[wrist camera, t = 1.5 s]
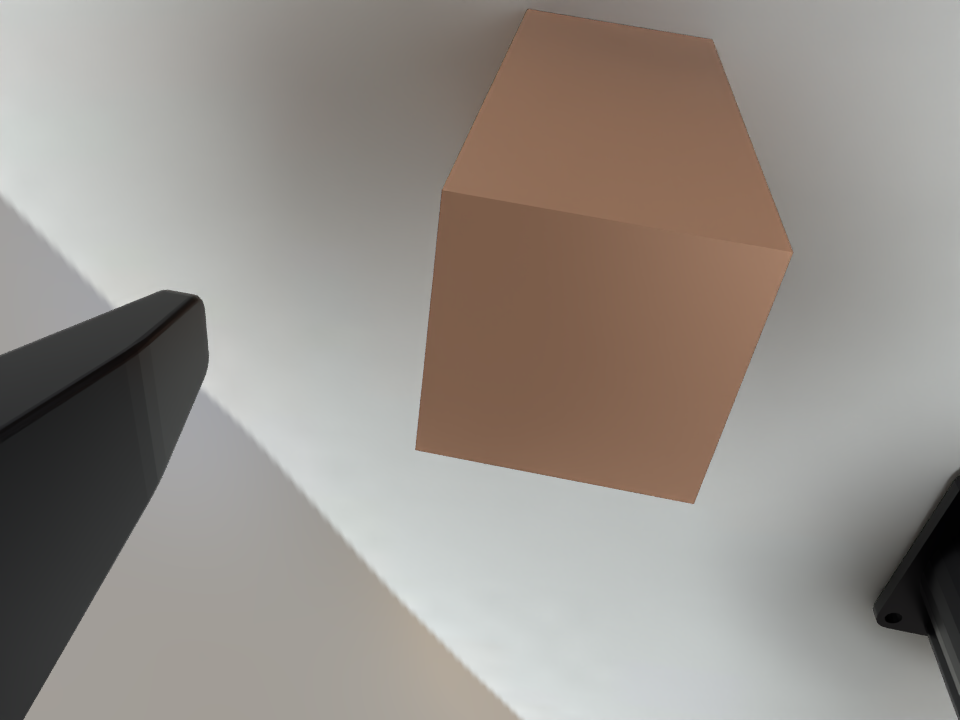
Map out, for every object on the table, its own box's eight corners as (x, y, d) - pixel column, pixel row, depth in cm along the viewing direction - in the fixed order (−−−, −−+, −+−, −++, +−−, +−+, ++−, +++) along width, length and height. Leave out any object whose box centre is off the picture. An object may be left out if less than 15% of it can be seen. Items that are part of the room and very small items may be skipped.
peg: (664, 210, 19) (693, 503, 11) (502, 182, 20) (414, 450, 11) (712, 39, 17) (794, 252, 9) (527, 9, 17) (442, 190, 9)
